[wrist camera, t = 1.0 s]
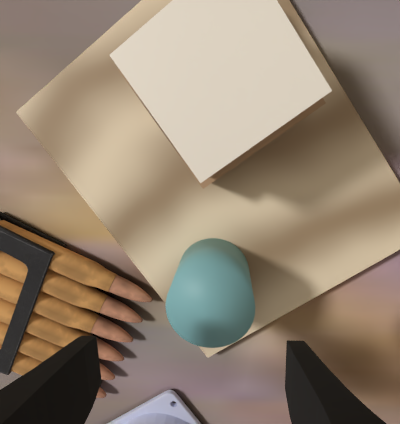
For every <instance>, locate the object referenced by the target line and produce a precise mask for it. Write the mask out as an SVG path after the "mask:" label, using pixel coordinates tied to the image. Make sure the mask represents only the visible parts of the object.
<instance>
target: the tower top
mask: <svg viewBox="0 0 400 424" xmlns="http://www.w3.org/2000/svg"><path fill="white" fill-rule="evenodd" d="M110 57H111V58H112V60H113V61H114V62H115V64H116V65H117V67H118V68H119V69H120V71H121V72H122V74H123V75H124V77H125V78H126V79H127V81H128V82H129V84H130V85H131V86H132V88H133V89H134V91H135V92H136V93H137V95H138V96H139V98H140V99H141V100H142V102H143V103H144V105H145V106H146V107H147V109H148V110H149V112H150V113H151V114H152V116H153V117H154V119H155V120H156V121H157V123H158V124H159V126H160V127H161V129H162V130H163V131H164V133H165V134H166V136H167V137H168V138H169V140H170V141H171V143H172V144H173V145H174V147H175V148H176V150H177V151H178V152H179V154H180V155H181V157H182V158H183V159H184V161H185V162H186V164H187V165H188V166H189V168H190V169H191V171H192V172H193V174H194V175H195V176H196V178H197V179H198V181H199V182H200V183H202V182H203V181H205V180H206V179H207V178H209V177H210V176H212V175H213V174H214V173H216V172H217V171H219V170H220V169H222V168H223V167H224V166H226V165H227V164H229V163H230V162H232V161H233V160H234V159H236V158H237V157H239V156H240V155H241V154H243V153H244V152H246V151H247V150H249V149H250V148H251V147H253V146H254V145H256V144H257V143H259V142H260V141H261V140H263V139H264V138H266V137H267V136H268V135H270V134H271V133H273V132H274V131H276V130H277V129H278V128H280V127H281V126H283V125H284V124H286V123H287V122H288V121H290V120H291V119H293V118H294V117H295V116H297V115H298V114H300V113H301V112H303V111H304V110H305V109H307V108H308V107H310V106H311V105H313V104H314V103H315V102H317V101H318V100H320V99H321V98H323V97H324V96H325V95H327V94H328V93H330V92H331V91H332V90H331V88H330V87H329V85H328V83H327V82H326V80H325V78H324V77H323V75H322V73H321V72H320V70H319V68H318V67H317V65H316V64H315V62H314V60H313V59H312V57H311V55H310V54H309V52H308V50H307V49H306V47H305V46H304V44H303V42H302V41H301V39H300V37H299V36H298V34H297V32H296V31H295V29H294V27H293V26H292V24H291V23H290V21H289V19H288V18H287V16H286V14H285V13H284V11H283V9H282V8H281V6H280V5H279V3H278V1H277V0H172V1H171V2H170V3H169V4H168V5H166V6H165V7H164V8H163V9H162V10H161V11H159V12H158V13H157V14H156V15H155V16H154V17H153V18H151V19H150V20H149V21H148V22H147V23H146V24H144V25H143V26H142V27H141V28H140V29H139V30H138V31H136V32H135V33H134V34H133V35H132V36H131V37H129V38H128V39H127V40H126V41H125V42H124V43H123V44H121V45H120V46H119V47H118V48H117V49H116V50H114V51H113V52H112V53H111V54H110Z"/></svg>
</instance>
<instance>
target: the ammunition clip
mask: <svg viewBox="0 0 400 424" xmlns="http://www.w3.org/2000/svg"><path fill="white" fill-rule="evenodd" d="M65 247H66V244H64V243H62V242H60V241H58V240H56V239H54V238H52V237H50V236H48V235H46V234H44V233H42V232H40V231H38V230H36V229H34V228H32V227H30V226H28V225H26V224H24V223H22V222H20V221H18V220H16V219H14V218H12V217H10V216H8V215H6V214H4V213H2V212H0V372H1V373H3V374H6V375H9V374H10V372H11V371H13V372H15V373H18V374H20V375H24V374H26V373H27V372H29V371H30V370H32V369H33V368H35V367H36V366H38V365H39V364H41V363H42V362H43V361H45V360H46V359H48V358H49V357H51V356H52V355H53V354H55V353H56V352H58V351H59V350H61V349H62V348H63V347H65V346H66V345H68V344H69V343H71V342H72V341H73V340H75V339H77V338H78V337H80V336H92V335H91V334H89V333H93V334H95V335H97V336H100V337H103V338H106V339H109V340H113V341H119V342H132V341H133V338H132V337H131V336H130V335H129V334H128V333H127V332H126V331H125V330H124V329H122V328H121V327H120V326H118V325H116V324H115V323H113V322H111V321H110V320H107V319H105V318H103V317H101V316H99V315H98V314H96V313H94V312H92V311H90V310H93V311H95V312H98V313H102V314H104V315H107V316H109V317H112V318H115V319H118V320H122V321H126V322H134V323H139V322H142V318H141V317H140V316H139V315H138V314H137V313H136V312H135V311H134V310H133V309H131V308H130V307H128V306H127V305H125V304H123V303H122V302H120V301H118V300H116V299H114V298H112V297H110V296H108V295H107V294H105V293H103V292H101V291H99V290H97V289H96V288H99V289H102V290H105V291H107V292H111V293H113V294H116V295H118V296H121V297H124V298H127V299H130V300H134V301H140V302H151V301H152V298H151V297H150V296H149V294H148V293H146V292H145V291H144V290H143V289H141V288H140V287H139V286H137V285H136V284H134V283H132V282H130V281H129V280H127V279H125V278H122V277H120V276H118V275H117V274H115V273H113V272H111V271H109V270H107V269H106V268H104V267H103V266H102V265H100V264H99V263H97V262H95V261H93V260H91V259H88V258H86V257H84V256H82V255H80V254H77V253H75V252H73V251H71V250H69V249H66V248H65ZM94 287H96V288H94ZM88 309H90V310H88ZM85 331H86V332H85ZM87 332H89V333H87ZM97 346H98V354H99V358H100V359H104V360H109V361H123V360H124V357H123V356H122V355H121V353H120V352H119V351H117V350H116V349H115V348H114V347H112V346H111V345H109V344H108V343H106V342H104V341H103V340H101V339H99V338H97ZM100 371H101V379H103V380H113V379H114V378H115V376H114V374H113V373H112V372H111V371H110V370H109V369H108V368H107V367H105V366H104V365H103V364H101V363H100ZM104 397H106V393H105V392H104V390H103V389H102V388H101V387H100V388H99V391H98V393H97V396H96V398H104Z"/></svg>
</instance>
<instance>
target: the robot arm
mask: <svg viewBox="0 0 400 424" xmlns="http://www.w3.org/2000/svg"><path fill="white" fill-rule="evenodd" d="M101 382H102V380H101V371H100V363H99V354H98V346H97V338H96V336H80V337H78V338H77V339H75V340H73V341H72V342H71V343H69V344H68V345H66V346H65V347H63V348H62V349H61V350H59V351H58V352H56V353H55V354H53V355H52V356H51V357H49V358H48V359H46V360H45V361H43V362H42V363H41V364H39V365H38V366H36V367H35V368H33V369H32V370H30V371H29V372H27V373H26V374H24V375H23V376H21V377H20V378H18V379H17V380H15V381H13V382H12V383H10V384H9V385H7V386H6V387H4V388H3V389H1V390H0V424H84V423H85V421H86V419H87V417H88V415H89V413H90V411H91V409H92V407H93V404H94V401H95V399H96V396H97V393H98V391H99V388H100V385H101ZM285 390H286V396H287V402H288V408H289V414H290V419H291V422H292V424H386V423H385V422H384V421H383V420H381V419H380V418H379V417H378V416H376V415H375V414H374V413H373V412H372V411H371V410H370V409H368V408H367V407H366V406H365V405H364V404H363V403H362V402H361V401H360V400H359V399H358V398H356V397H355V396H354V395H353V394H352V393H351V392H350V391H349V390H348V389H347V388H346V387H345V386H344V385H343V384H342V383H341V382H340V380H339V379H338V378H337V377H336V376H335V375H334V374H333V373H332V372H331V371H330V370H329V369H328V368H327V367H326V365H325V364H324V363H323V362H322V361H321V360H320V359H319V357H318V356H317V355H316V354H315V353H314V352H313V351H312V349H311V348H310V347H309V346H308V345H307V344H306V343H305V342H304V341H287V351H286V379H285ZM172 401H175V402H176V403H173V402H172ZM107 424H201V423H200V422H199V420H198V419H197V418H196V417H195V415H194V414H193V413H192V412H191V411H190V409H189V408H188V407H187V406H186V404H185V403H184V402H183V401H182V400H181V398H180V397H179V396H178V395H177V393H176V392H175V391H173V390H167V391H165V392H163V393H161V394H160V395H158V396H156V397H154V398H152V399H151V400H149V401H147V402H145V403H143V404H142V405H140V406H138V407H136V408H134V409H133V410H131V411H129V412H127V413H125V414H124V415H122V416H120V417H118V418H116V419H115V420H113V421H111V422H109V423H107Z"/></svg>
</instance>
